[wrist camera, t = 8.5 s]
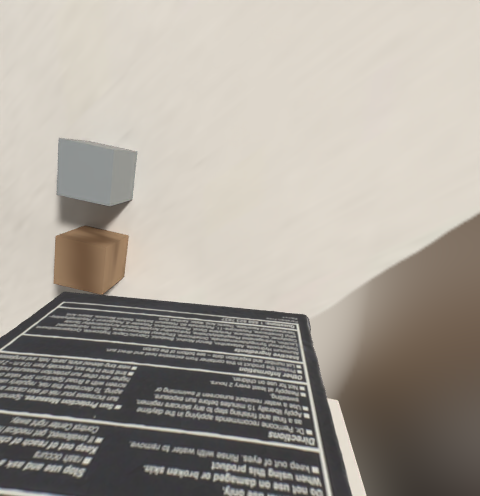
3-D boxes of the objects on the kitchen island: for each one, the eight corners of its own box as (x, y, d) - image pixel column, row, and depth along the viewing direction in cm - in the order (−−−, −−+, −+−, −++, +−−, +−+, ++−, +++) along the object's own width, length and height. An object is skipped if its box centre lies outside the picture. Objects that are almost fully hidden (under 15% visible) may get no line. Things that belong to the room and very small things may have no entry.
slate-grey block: (87, 189, 33) (56, 194, 28) (90, 141, 32) (58, 137, 27) (132, 199, 33) (109, 206, 28) (137, 151, 31) (114, 150, 27)
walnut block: (82, 266, 35) (53, 283, 31) (85, 225, 34) (55, 236, 29) (124, 276, 35) (102, 294, 31) (128, 235, 34) (106, 247, 29)
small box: (74, 411, 15) (-328, 936, 5) (60, 287, 13) (-631, 711, 3) (294, 437, 14) (361, 1110, 4) (311, 310, 12) (506, 955, 2)
